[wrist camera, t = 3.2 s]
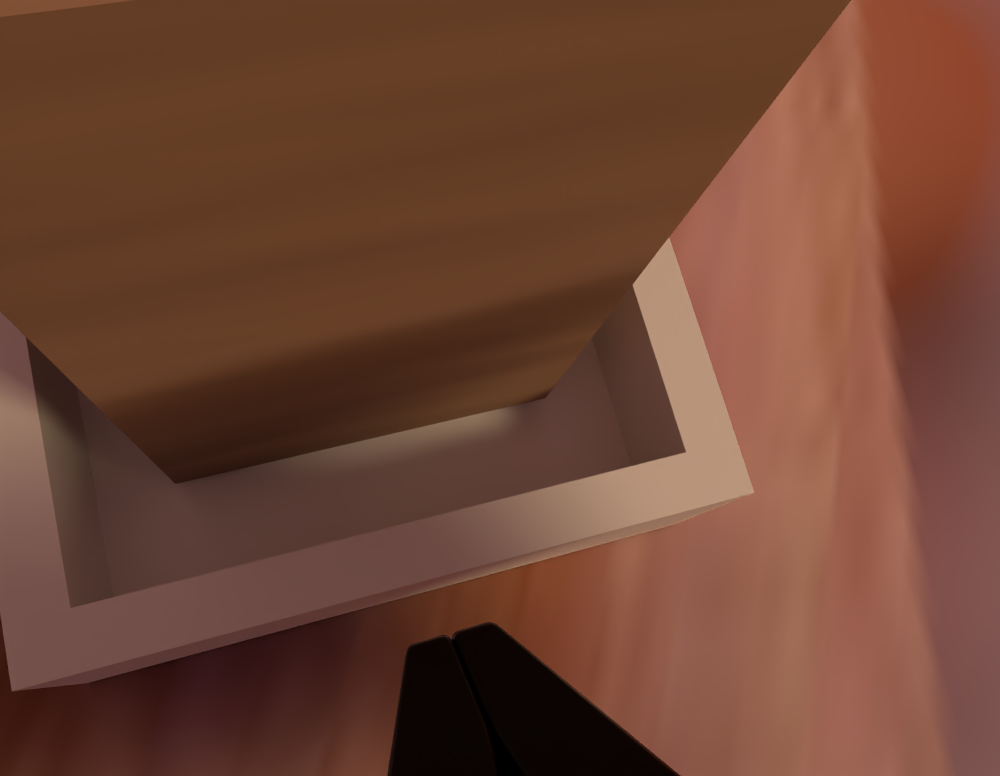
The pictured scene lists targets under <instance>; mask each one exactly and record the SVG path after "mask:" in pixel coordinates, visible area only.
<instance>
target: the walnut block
mask: <svg viewBox="0 0 1000 776" xmlns="http://www.w3.org/2000/svg"><path fill="white" fill-rule="evenodd" d="M850 1H851V0H0V312H1V313H2V314H3V315H4V316H5V317H6V318H7V319H8V320H9V321H10V322H11V323H12V324H13V325H14V326H15V327H16V328H18V329H19V330H20V331H21V332H22V333H23V334H24V335H25V336H26V337H27V338H28V339H29V340H30V341H31V342H32V343H33V344H34V345H35V346H36V347H37V348H38V349H39V350H40V351H41V352H42V353H43V354H44V355H45V356H46V357H47V358H48V359H49V360H50V361H51V362H52V363H53V364H54V365H55V366H56V367H57V368H58V369H59V370H60V371H61V372H62V373H63V374H64V375H65V376H66V377H67V378H68V379H69V380H70V381H71V382H72V383H73V384H74V385H75V386H76V387H77V388H78V389H79V390H80V391H81V392H83V393H84V394H85V395H86V396H87V397H88V398H89V399H90V400H91V401H92V402H93V403H94V404H95V405H96V406H97V407H98V408H99V409H100V410H101V411H102V412H103V413H104V414H105V415H106V416H107V417H108V418H109V419H110V420H111V421H112V422H113V423H114V424H115V425H116V426H117V427H118V428H119V429H120V430H121V431H122V432H123V433H124V434H125V435H126V436H127V437H128V438H129V439H130V440H131V441H132V442H133V443H134V444H135V445H136V446H137V447H138V448H139V449H140V450H141V451H142V452H143V453H144V454H145V455H146V456H148V457H149V458H150V459H151V460H152V461H153V462H154V463H155V464H156V465H157V466H158V467H159V468H160V469H161V470H162V471H163V472H164V473H165V474H166V475H167V476H168V477H169V478H170V479H171V480H172V481H173V482H174V483H175V484H178V483H182V482H186V481H191V480H195V479H199V478H204V477H208V476H212V475H217V474H221V473H225V472H230V471H234V470H238V469H243V468H247V467H251V466H255V465H260V464H264V463H268V462H273V461H277V460H281V459H286V458H290V457H294V456H299V455H303V454H307V453H311V452H316V451H320V450H324V449H329V448H333V447H337V446H342V445H346V444H350V443H355V442H359V441H363V440H368V439H372V438H376V437H380V436H385V435H389V434H393V433H398V432H402V431H406V430H411V429H415V428H419V427H424V426H428V425H432V424H436V423H441V422H445V421H449V420H454V419H458V418H462V417H467V416H471V415H475V414H480V413H484V412H488V411H493V410H497V409H501V408H505V407H510V406H514V405H518V404H523V403H527V402H531V401H536V400H540V399H544V398H546V397H547V396H548V394H549V393H550V392H551V390H552V389H553V388H554V386H555V385H556V384H557V383H558V381H559V380H560V379H561V377H562V376H563V375H564V373H565V372H566V371H567V369H568V368H569V367H570V366H571V364H572V363H573V362H574V360H575V359H576V358H577V356H578V355H579V354H580V353H581V351H582V350H583V349H584V347H585V346H586V345H587V343H588V342H589V341H590V340H591V338H592V337H593V336H594V334H595V333H596V332H597V330H598V329H599V328H600V327H601V325H602V324H603V323H604V321H605V320H606V319H607V317H608V316H609V315H610V313H611V312H612V311H613V310H614V308H615V307H616V306H617V304H618V303H619V302H620V300H621V299H622V298H623V297H624V295H625V294H626V293H627V291H628V290H629V289H630V287H631V286H632V285H633V284H634V282H635V281H636V280H637V278H638V277H639V276H640V274H641V273H642V272H643V270H644V269H645V268H646V267H647V265H648V264H649V263H650V261H651V260H652V259H653V257H654V256H655V255H656V254H657V252H658V251H659V250H660V248H661V247H662V246H663V244H664V243H665V242H666V241H667V239H668V238H669V237H670V235H671V234H672V233H673V231H674V230H675V229H676V228H677V226H678V225H679V224H680V222H681V221H682V220H683V218H684V217H685V216H686V214H687V213H688V212H689V211H690V209H691V208H692V207H693V205H694V204H695V203H696V201H697V200H698V199H699V198H700V196H701V195H702V194H703V192H704V191H705V190H706V188H707V187H708V186H709V185H710V183H711V182H712V181H713V179H714V178H715V177H716V175H717V174H718V173H719V171H720V170H721V169H722V168H723V166H724V165H725V164H726V162H727V161H728V160H729V158H730V157H731V156H732V155H733V153H734V152H735V151H736V149H737V148H738V147H739V145H740V144H741V143H742V142H743V140H744V139H745V138H746V136H747V135H748V134H749V132H750V131H751V130H752V128H753V127H754V126H755V125H756V123H757V122H758V121H759V119H760V118H761V117H762V115H763V114H764V113H765V112H766V110H767V109H768V108H769V106H770V105H771V104H772V102H773V101H774V100H775V99H776V97H777V96H778V95H779V93H780V92H781V91H782V89H783V88H784V87H785V86H786V84H787V83H788V82H789V80H790V79H791V78H792V76H793V75H794V74H795V72H796V71H797V70H798V69H799V67H800V66H801V65H802V63H803V62H804V61H805V59H806V58H807V57H808V56H809V54H810V53H811V52H812V50H813V49H814V48H815V46H816V45H817V44H818V43H819V41H820V40H821V39H822V37H823V36H824V35H825V33H826V32H827V31H828V29H829V28H830V27H831V26H832V24H833V23H834V22H835V20H836V19H837V18H838V16H839V15H840V14H841V13H842V11H843V10H844V9H845V7H846V6H847V5H848V3H849V2H850Z"/></svg>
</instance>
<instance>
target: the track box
mask: <svg viewBox="0 0 1000 776" xmlns="http://www.w3.org/2000/svg"><path fill="white" fill-rule="evenodd" d="M753 493H754V490H753V487H752V484H751V481H750V478H749V475H748V472H747V469H746V466H745V463H744V460H743V457H742V454H741V451H740V448H739V445H738V442H737V439H736V436H735V433H734V430H733V427H732V424H731V421H730V418H729V415H728V412H727V409H726V406H725V403H724V400H723V397H722V394H721V391H720V388H719V385H718V382H717V379H716V376H715V373H714V370H713V367H712V364H711V361H710V358H709V355H708V352H707V349H706V346H705V343H704V340H703V337H702V334H701V331H700V328H699V325H698V322H697V319H696V316H695V313H694V310H693V307H692V304H691V301H690V298H689V295H688V292H687V289H686V286H685V283H684V280H683V277H682V274H681V271H680V268H679V265H678V262H677V259H676V256H675V253H674V250H673V247H672V244H671V241H670V238H668V239H667V241H666V242H665V243H664V244H663V246H662V247H661V248H660V250H659V251H658V252H657V254H656V255H655V256H654V257H653V259H652V260H651V261H650V263H649V264H648V265H647V267H646V268H645V269H644V270H643V272H642V273H641V274H640V276H639V277H638V278H637V280H636V281H635V282H634V284H633V285H632V286H631V287H630V289H629V290H628V291H627V293H626V294H625V295H624V297H623V298H622V299H621V300H620V302H619V303H618V304H617V306H616V307H615V308H614V310H613V311H612V312H611V313H610V315H609V316H608V317H607V319H606V320H605V321H604V323H603V324H602V325H601V327H600V328H599V329H598V330H597V332H596V333H595V334H594V336H593V337H592V338H591V340H590V341H589V342H588V343H587V345H586V346H585V347H584V349H583V350H582V351H581V353H580V354H579V355H578V356H577V358H576V359H575V360H574V362H573V363H572V364H571V366H570V367H569V368H568V369H567V371H566V372H565V373H564V375H563V376H562V377H561V379H560V380H559V381H558V383H557V384H556V385H555V386H554V388H553V389H552V390H551V392H550V393H549V394H548V396H547V397H546V398H544V399H540V400H536V401H531V402H527V403H523V404H518V405H514V406H510V407H505V408H501V409H497V410H493V411H488V412H484V413H480V414H475V415H471V416H467V417H462V418H458V419H454V420H449V421H445V422H441V423H436V424H432V425H428V426H424V427H419V428H415V429H411V430H406V431H402V432H398V433H393V434H389V435H385V436H380V437H376V438H372V439H368V440H363V441H359V442H355V443H350V444H346V445H342V446H337V447H333V448H329V449H324V450H320V451H316V452H311V453H307V454H303V455H299V456H294V457H290V458H286V459H281V460H277V461H273V462H268V463H264V464H260V465H255V466H251V467H247V468H243V469H238V470H234V471H230V472H225V473H221V474H217V475H212V476H208V477H204V478H199V479H195V480H191V481H186V482H182V483H178V484H175V483H174V482H173V481H172V480H171V479H170V478H169V477H168V476H167V475H166V474H165V473H164V472H163V471H162V470H161V469H160V468H159V467H158V466H157V465H156V464H155V463H154V462H153V461H152V460H151V459H150V458H149V457H148V456H146V455H145V454H144V453H143V452H142V451H141V450H140V449H139V448H138V447H137V446H136V445H135V444H134V443H133V442H132V441H131V440H130V439H129V438H128V437H127V436H126V435H125V434H124V433H123V432H122V431H121V430H120V429H119V428H118V427H117V426H116V425H115V424H114V423H113V422H112V421H111V420H110V419H109V418H108V417H107V416H106V415H105V414H104V413H103V412H102V411H101V410H100V409H99V408H98V407H97V406H96V405H95V404H94V403H93V402H92V401H91V400H90V399H89V398H88V397H87V396H86V395H85V394H84V393H83V392H81V391H80V390H79V389H78V388H77V387H76V386H75V385H74V384H73V383H72V382H71V381H70V380H69V379H68V378H67V377H66V376H65V375H64V374H63V373H62V372H61V371H60V370H59V369H58V368H57V367H56V366H55V365H54V364H53V363H52V362H51V361H50V360H49V359H48V358H47V357H46V356H45V355H44V354H43V353H42V352H41V351H40V350H39V349H38V348H37V347H36V346H35V345H34V344H33V343H32V342H31V341H30V340H29V339H28V338H27V337H26V336H25V335H24V334H23V333H22V332H21V331H20V330H19V329H18V328H16V327H15V326H14V325H13V324H12V323H11V322H10V321H9V320H8V319H7V318H6V317H5V316H4V315H3V314H2V313H1V312H0V616H1V622H2V629H3V636H4V643H5V649H6V656H7V663H8V670H9V676H10V683H11V690H12V691H19V690H28V689H38V688H47V687H56V686H65V685H74V684H83V683H89V682H93V681H97V680H101V679H104V678H108V677H112V676H115V675H119V674H123V673H126V672H130V671H134V670H138V669H141V668H145V667H149V666H152V665H156V664H160V663H164V662H167V661H171V660H175V659H178V658H182V657H186V656H189V655H193V654H197V653H201V652H204V651H208V650H212V649H215V648H219V647H223V646H227V645H230V644H234V643H238V642H241V641H245V640H249V639H252V638H256V637H260V636H264V635H267V634H271V633H275V632H278V631H282V630H286V629H290V628H293V627H297V626H301V625H304V624H308V623H312V622H315V621H319V620H323V619H327V618H330V617H334V616H338V615H341V614H345V613H349V612H352V611H356V610H360V609H364V608H367V607H371V606H375V605H378V604H382V603H386V602H390V601H393V600H397V599H401V598H404V597H408V596H412V595H415V594H419V593H423V592H427V591H430V590H434V589H438V588H441V587H445V586H449V585H453V584H456V583H460V582H464V581H467V580H471V579H475V578H478V577H482V576H486V575H490V574H493V573H497V572H501V571H504V570H508V569H512V568H516V567H519V566H523V565H527V564H530V563H534V562H538V561H541V560H545V559H549V558H553V557H556V556H560V555H564V554H567V553H571V552H575V551H579V550H582V549H586V548H590V547H593V546H597V545H601V544H604V543H608V542H612V541H616V540H619V539H623V538H627V537H630V536H634V535H638V534H641V533H645V532H649V531H653V530H656V529H660V528H664V527H667V526H671V525H675V524H677V523H680V522H682V521H685V520H687V519H690V518H692V517H695V516H697V515H700V514H702V513H705V512H707V511H710V510H712V509H715V508H717V507H720V506H722V505H725V504H727V503H730V502H732V501H735V500H737V499H740V498H742V497H745V496H747V495H750V494H753Z"/></svg>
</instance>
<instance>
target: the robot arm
mask: <svg viewBox="0 0 1000 776" xmlns="http://www.w3.org/2000/svg"><path fill="white" fill-rule="evenodd" d="M387 776H680V775H679V774H678V773H677V772H675V771H674V770H673V769H672V768H670V767H669V766H668V765H667V764H666V763H664V762H663V761H662V760H661V759H660V758H658V757H657V756H656V755H655V754H653V753H652V752H651V751H650V750H649V749H647V748H646V747H645V746H644V745H643V744H641V743H640V742H639V741H638V740H637V739H635V738H634V737H633V736H632V735H630V734H629V733H628V732H627V731H626V730H624V729H623V728H622V727H621V726H620V725H618V724H617V723H616V722H615V721H613V720H612V719H611V718H610V717H609V716H607V715H606V714H605V713H604V712H603V711H601V710H600V709H599V708H598V707H596V706H595V705H594V704H593V703H592V702H590V701H589V700H588V699H587V698H586V697H584V696H583V695H582V694H581V693H579V692H578V691H577V690H576V689H575V688H573V687H572V686H571V685H570V684H569V683H567V682H566V681H565V680H564V679H563V678H561V677H560V676H559V675H558V674H556V673H555V672H554V671H553V670H552V669H550V668H549V667H548V666H547V665H546V664H544V663H543V662H542V661H541V660H539V659H538V658H537V657H536V656H535V655H533V654H532V653H531V652H530V651H529V650H527V649H526V648H525V647H524V646H522V645H521V644H520V643H519V642H518V641H516V640H515V639H514V638H513V637H512V636H510V635H509V634H508V633H507V632H505V631H504V630H503V629H502V628H501V627H499V626H498V625H497V624H495V623H491V622H487V623H483V624H480V625H476V626H473V627H469V628H466V629H462V630H459V631H457V632H455V633H454V635H453V636H452V640H451V638H449V637H448V636H446V635H442V636H438V637H435V638H431V639H428V640H425V641H421V642H418V643H414V644H412V645H410V646H409V647H408V649H407V651H406V655H405V661H404V668H403V675H402V681H401V688H400V695H399V701H398V708H397V715H396V722H395V728H394V735H393V742H392V749H391V755H390V762H389V769H388V775H387Z"/></svg>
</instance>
